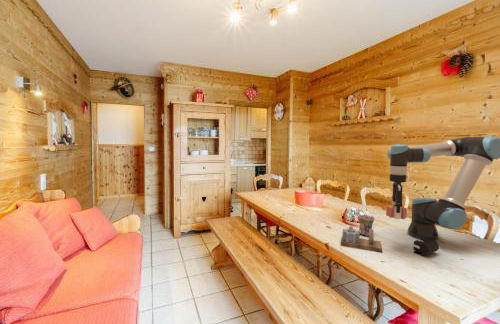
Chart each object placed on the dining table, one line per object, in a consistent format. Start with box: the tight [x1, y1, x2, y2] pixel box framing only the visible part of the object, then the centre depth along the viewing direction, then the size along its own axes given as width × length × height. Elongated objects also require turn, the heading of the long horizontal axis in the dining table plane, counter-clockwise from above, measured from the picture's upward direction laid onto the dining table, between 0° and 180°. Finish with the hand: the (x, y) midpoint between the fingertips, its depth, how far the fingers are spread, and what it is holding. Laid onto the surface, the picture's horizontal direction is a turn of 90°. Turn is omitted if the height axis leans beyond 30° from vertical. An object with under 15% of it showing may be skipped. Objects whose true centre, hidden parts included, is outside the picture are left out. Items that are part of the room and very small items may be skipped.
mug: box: [357, 214, 376, 237], centre depth 146 cm, size 12×9×11 cm
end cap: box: [412, 238, 440, 257], centre depth 119 cm, size 10×7×7 cm
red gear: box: [385, 204, 408, 220], centre depth 124 cm, size 9×9×5 cm
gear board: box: [340, 225, 383, 253], centre depth 129 cm, size 20×10×10 cm, turn 65°
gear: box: [341, 227, 361, 243], centre depth 131 cm, size 9×9×5 cm
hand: (396, 216), depth 124 cm, fingers closed on red gear, 9 cm apart
